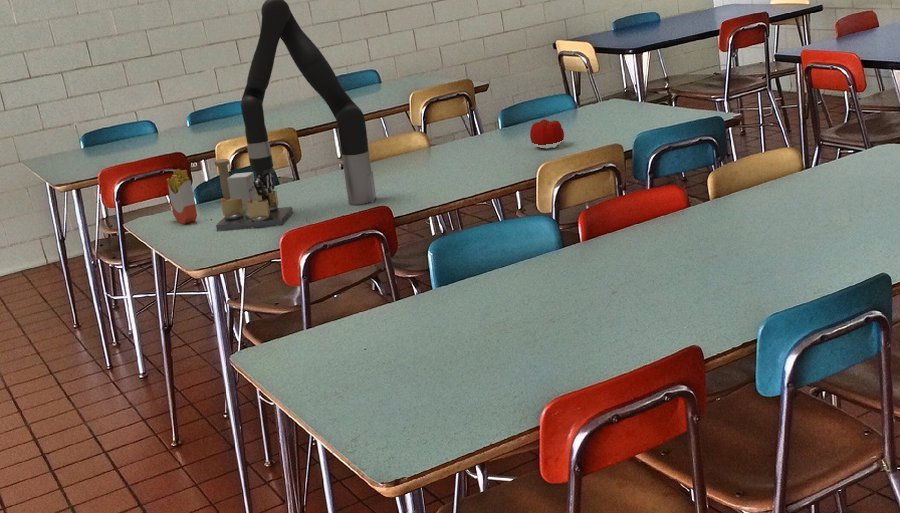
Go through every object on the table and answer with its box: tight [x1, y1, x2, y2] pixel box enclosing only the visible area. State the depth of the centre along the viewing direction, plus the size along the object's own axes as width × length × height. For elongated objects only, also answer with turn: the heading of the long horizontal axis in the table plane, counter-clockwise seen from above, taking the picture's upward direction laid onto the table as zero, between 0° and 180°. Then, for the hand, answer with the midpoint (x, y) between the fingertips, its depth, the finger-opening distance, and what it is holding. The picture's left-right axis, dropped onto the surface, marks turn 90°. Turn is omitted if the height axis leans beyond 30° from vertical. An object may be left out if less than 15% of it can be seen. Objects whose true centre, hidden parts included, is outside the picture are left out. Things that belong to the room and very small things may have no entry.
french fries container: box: [166, 168, 198, 225], centre depth 357 cm, size 5×11×18 cm, turn 37°
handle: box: [214, 158, 231, 200], centre depth 382 cm, size 5×6×15 cm
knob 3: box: [247, 199, 270, 222], centre depth 341 cm, size 6×6×7 cm
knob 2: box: [256, 190, 279, 211], centre depth 353 cm, size 6×6×7 cm
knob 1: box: [220, 197, 244, 220], centre depth 348 cm, size 6×6×7 cm
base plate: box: [215, 206, 294, 232], centre depth 348 cm, size 22×16×4 cm
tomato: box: [529, 119, 565, 145], centre depth 409 cm, size 14×13×10 cm
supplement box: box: [227, 171, 257, 211], centre depth 365 cm, size 7×7×13 cm
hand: (268, 204), depth 353 cm, fingers closed on knob 2, 2 cm apart
